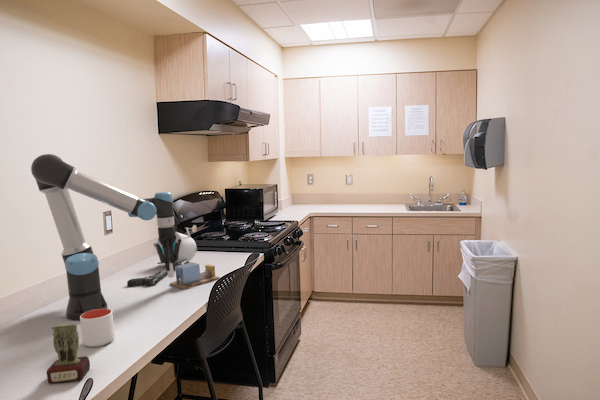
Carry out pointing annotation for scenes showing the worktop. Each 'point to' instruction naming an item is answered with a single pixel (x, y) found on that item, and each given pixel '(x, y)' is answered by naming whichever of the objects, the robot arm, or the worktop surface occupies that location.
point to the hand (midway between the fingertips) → (170, 276)
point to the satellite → (185, 247)
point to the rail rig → (205, 277)
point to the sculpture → (67, 356)
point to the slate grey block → (188, 273)
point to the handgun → (147, 279)
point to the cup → (97, 327)
